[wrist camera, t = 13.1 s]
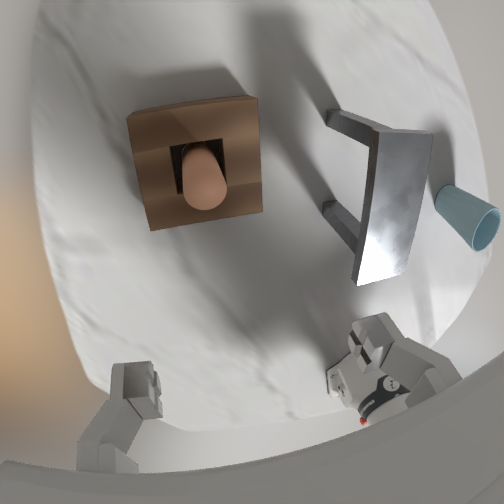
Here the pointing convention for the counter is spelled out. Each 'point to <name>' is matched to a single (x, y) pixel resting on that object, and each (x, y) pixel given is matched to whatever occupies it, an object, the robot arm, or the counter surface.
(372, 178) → the grey u-shaped bracket
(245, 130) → the socket
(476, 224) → the cup
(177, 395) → the counter surface
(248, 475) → the robot arm
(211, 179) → the peg
